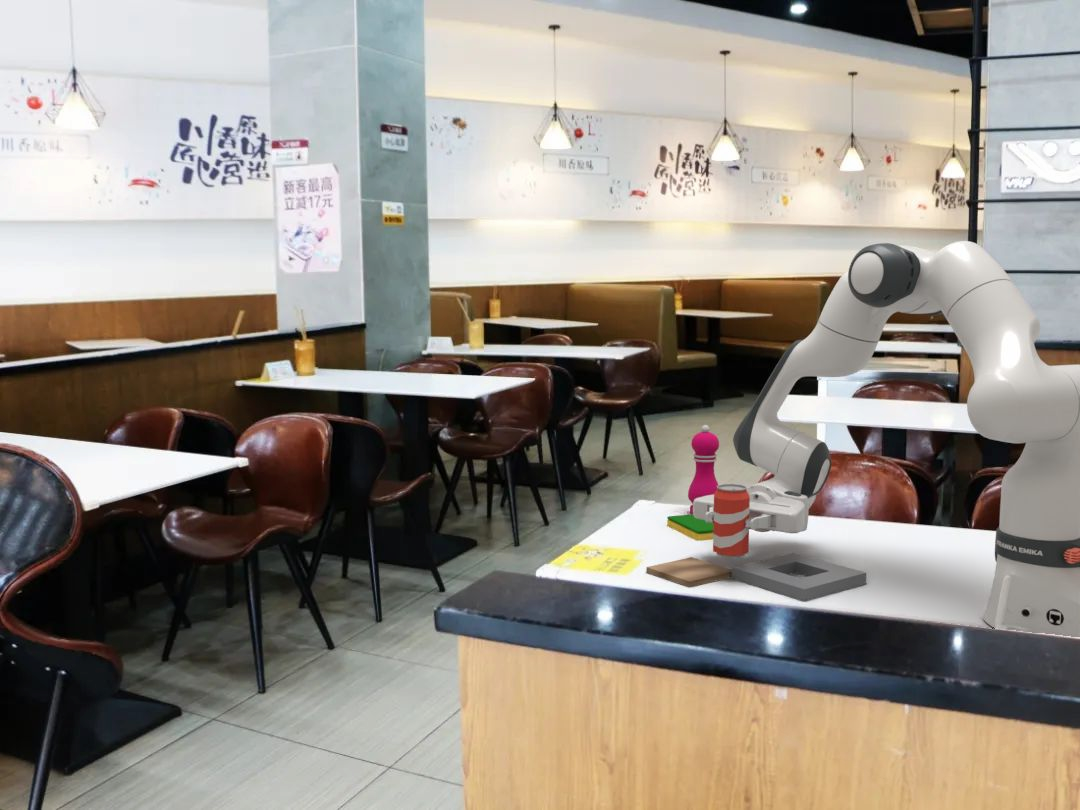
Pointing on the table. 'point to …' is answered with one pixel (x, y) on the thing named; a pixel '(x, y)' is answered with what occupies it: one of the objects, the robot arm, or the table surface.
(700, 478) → the pepper mill
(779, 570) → the dock
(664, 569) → the coaster pad
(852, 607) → the table surface
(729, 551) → the beverage can
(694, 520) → the dish sponge
